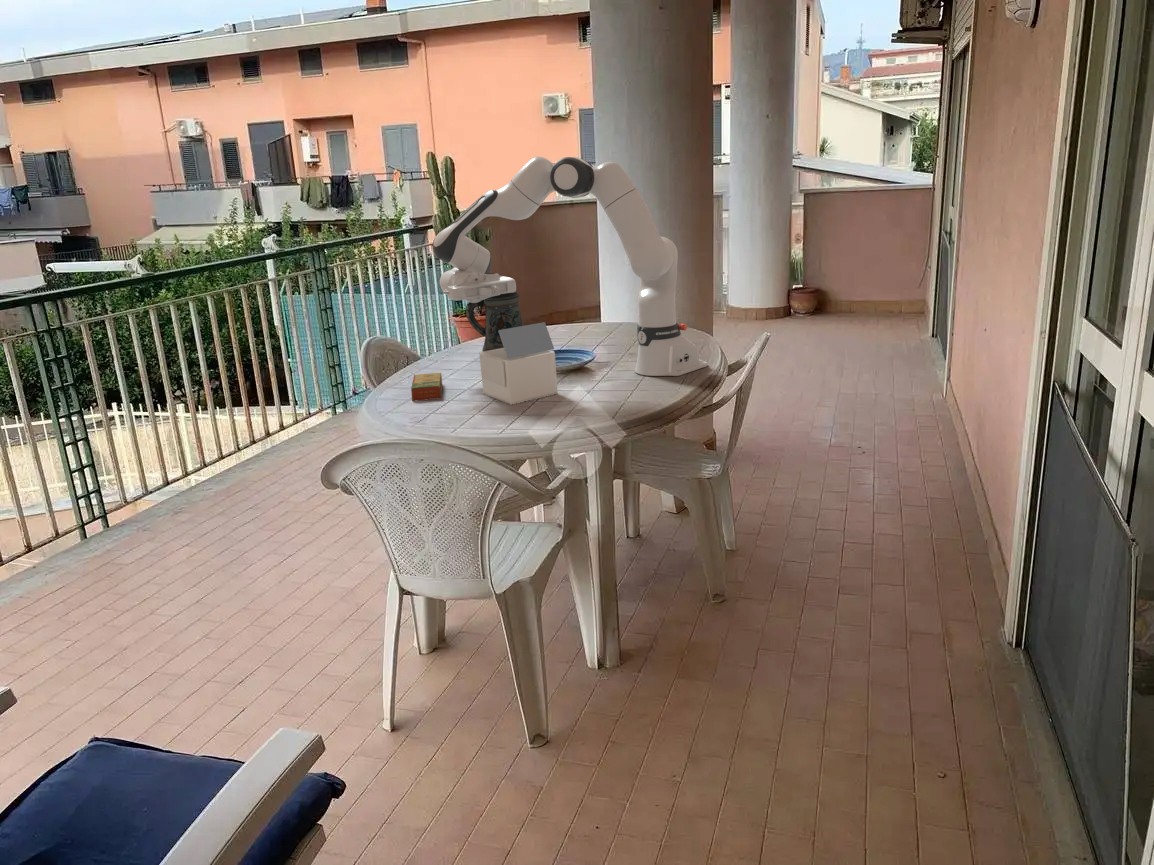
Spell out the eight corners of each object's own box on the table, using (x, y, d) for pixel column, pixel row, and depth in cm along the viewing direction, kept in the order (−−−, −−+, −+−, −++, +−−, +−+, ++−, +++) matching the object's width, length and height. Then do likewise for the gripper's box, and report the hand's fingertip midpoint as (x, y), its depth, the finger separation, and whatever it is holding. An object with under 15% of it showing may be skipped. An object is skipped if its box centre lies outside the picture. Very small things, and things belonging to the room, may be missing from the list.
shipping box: (529, 383, 244) (526, 343, 240) (559, 393, 230) (556, 351, 227) (480, 393, 235) (476, 352, 232) (508, 405, 222) (504, 361, 218)
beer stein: (541, 356, 277) (535, 281, 270) (492, 367, 267) (484, 289, 259) (514, 349, 290) (508, 278, 282) (466, 359, 279) (458, 285, 272)
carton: (443, 385, 249) (441, 371, 247) (441, 399, 233) (440, 385, 232) (415, 388, 248) (413, 374, 246) (412, 402, 233) (410, 387, 231)
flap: (544, 322, 227) (544, 322, 227) (553, 349, 226) (554, 348, 226) (498, 330, 220) (498, 330, 219) (507, 358, 219) (508, 357, 218)
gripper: (438, 281, 237) (460, 285, 225) (501, 272, 247) (524, 276, 236) (441, 302, 238) (462, 308, 227) (503, 293, 249) (526, 298, 238)
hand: (494, 291), depth 232 cm, fingers closed
